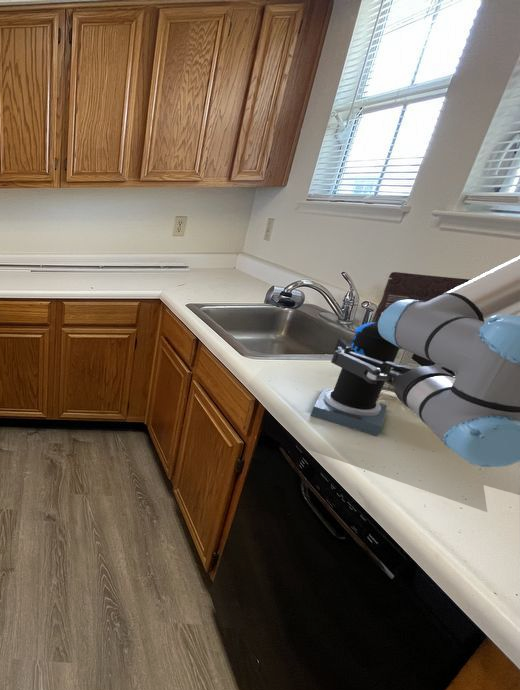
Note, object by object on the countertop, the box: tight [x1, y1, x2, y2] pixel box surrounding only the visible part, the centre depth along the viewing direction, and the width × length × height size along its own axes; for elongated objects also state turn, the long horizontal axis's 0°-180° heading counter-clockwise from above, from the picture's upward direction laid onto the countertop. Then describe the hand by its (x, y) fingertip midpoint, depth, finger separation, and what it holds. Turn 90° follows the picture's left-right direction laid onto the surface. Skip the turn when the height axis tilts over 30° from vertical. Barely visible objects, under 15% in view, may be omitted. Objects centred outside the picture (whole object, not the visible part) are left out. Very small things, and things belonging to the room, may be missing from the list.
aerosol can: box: [331, 312, 400, 409], centre depth 88 cm, size 8×8×20 cm
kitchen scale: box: [310, 387, 388, 437], centre depth 92 cm, size 12×12×3 cm
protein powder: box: [371, 271, 471, 393], centre depth 99 cm, size 16×9×28 cm, turn 54°
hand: (376, 348), depth 86 cm, fingers open, 13 cm apart
